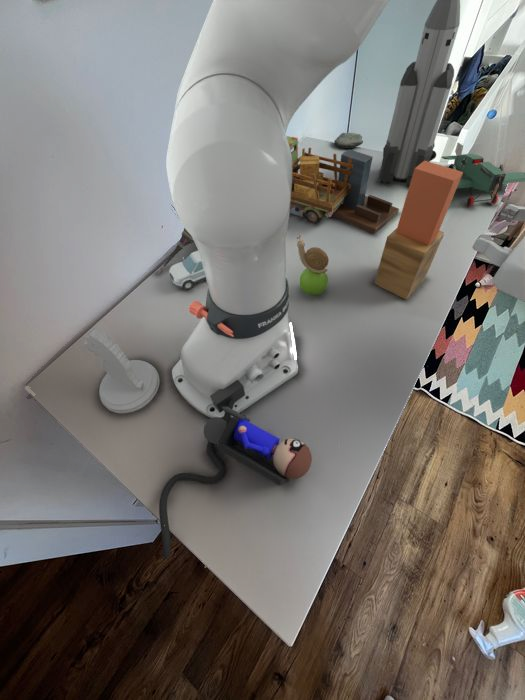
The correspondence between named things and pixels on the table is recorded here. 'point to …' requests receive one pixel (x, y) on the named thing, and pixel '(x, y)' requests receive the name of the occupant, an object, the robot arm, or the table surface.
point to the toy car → (188, 271)
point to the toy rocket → (422, 96)
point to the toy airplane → (481, 174)
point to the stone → (348, 140)
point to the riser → (405, 263)
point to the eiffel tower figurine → (180, 245)
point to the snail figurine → (313, 269)
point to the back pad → (427, 201)
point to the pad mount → (362, 197)
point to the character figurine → (259, 447)
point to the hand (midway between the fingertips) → (490, 225)
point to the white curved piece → (122, 376)
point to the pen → (451, 166)
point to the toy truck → (316, 184)
